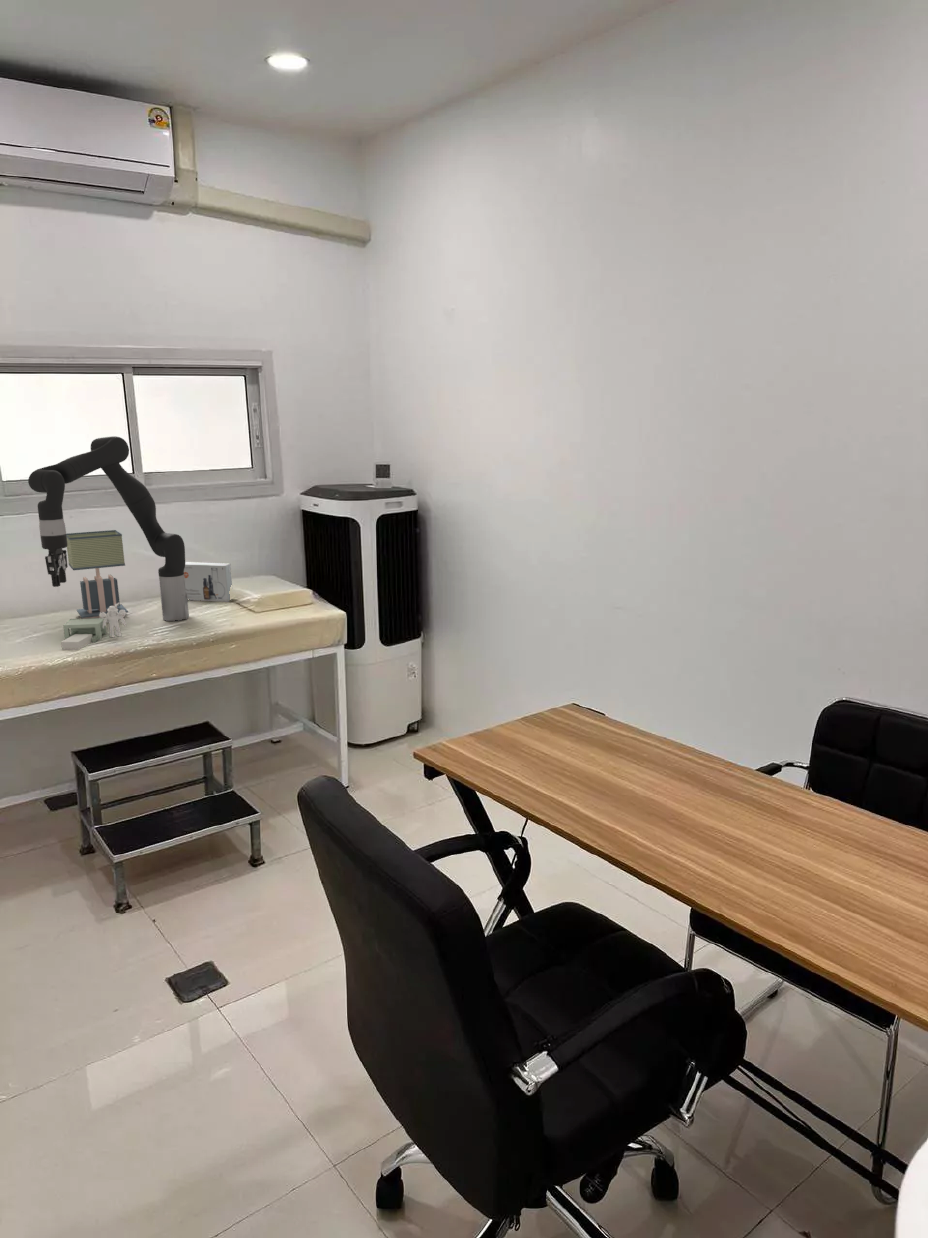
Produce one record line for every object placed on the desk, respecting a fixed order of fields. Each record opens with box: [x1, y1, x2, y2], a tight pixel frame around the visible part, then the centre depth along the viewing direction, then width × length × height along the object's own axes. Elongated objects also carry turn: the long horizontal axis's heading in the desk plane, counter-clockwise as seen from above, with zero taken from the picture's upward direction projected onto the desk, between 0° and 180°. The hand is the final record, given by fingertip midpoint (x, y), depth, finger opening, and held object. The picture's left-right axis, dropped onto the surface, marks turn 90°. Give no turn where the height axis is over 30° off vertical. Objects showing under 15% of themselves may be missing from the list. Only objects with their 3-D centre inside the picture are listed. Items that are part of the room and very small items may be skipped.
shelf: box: [62, 618, 108, 643], centre depth 292 cm, size 12×13×6 cm
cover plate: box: [60, 634, 93, 650], centre depth 284 cm, size 6×10×3 cm, turn 179°
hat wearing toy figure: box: [99, 601, 127, 638], centre depth 294 cm, size 9×4×12 cm, turn 122°
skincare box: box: [184, 561, 233, 603], centre depth 350 cm, size 21×6×16 cm, turn 80°
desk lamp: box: [66, 529, 129, 619], centre depth 320 cm, size 18×14×33 cm
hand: (59, 584), depth 268 cm, fingers open, 6 cm apart
